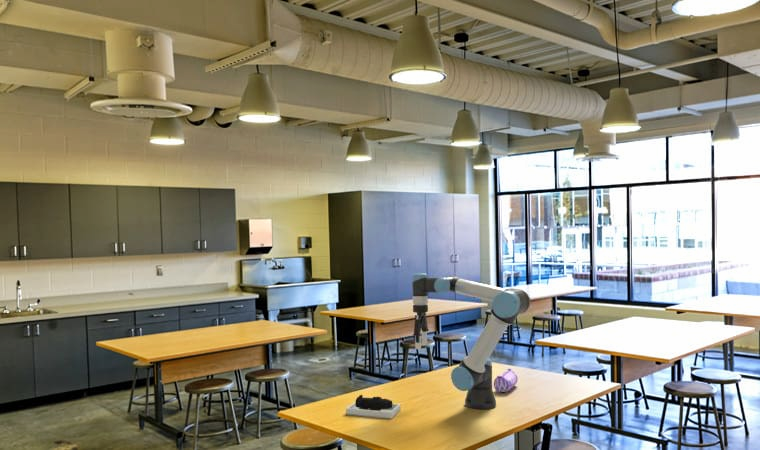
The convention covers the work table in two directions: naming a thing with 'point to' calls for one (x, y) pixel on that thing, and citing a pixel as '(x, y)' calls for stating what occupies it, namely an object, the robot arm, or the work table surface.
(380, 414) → the tray
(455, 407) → the work table surface
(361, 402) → the night vision scope
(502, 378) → the pencil case
